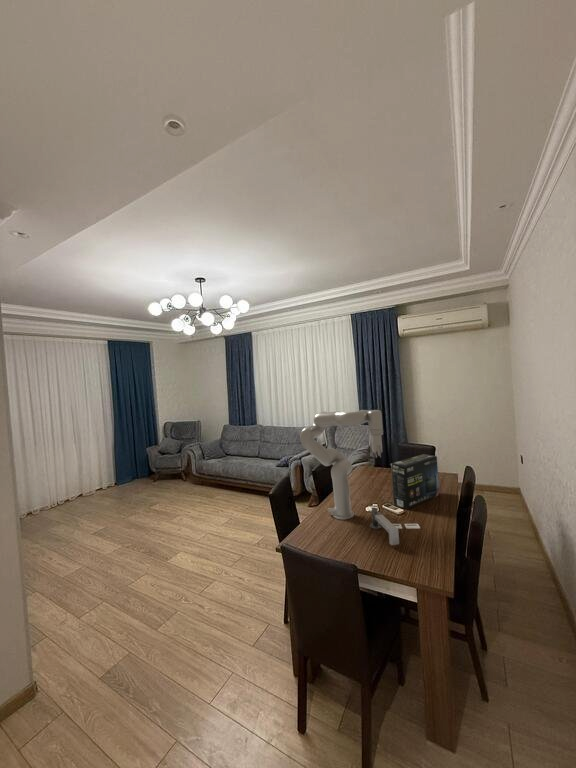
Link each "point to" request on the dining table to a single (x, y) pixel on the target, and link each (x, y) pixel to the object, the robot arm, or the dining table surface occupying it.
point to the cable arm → (387, 527)
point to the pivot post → (374, 521)
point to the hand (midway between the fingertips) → (378, 464)
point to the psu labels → (407, 526)
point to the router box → (414, 480)
